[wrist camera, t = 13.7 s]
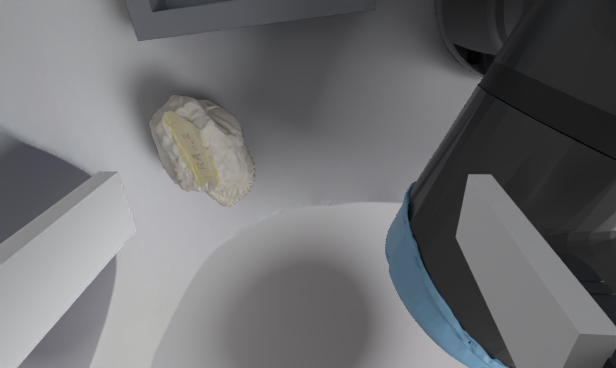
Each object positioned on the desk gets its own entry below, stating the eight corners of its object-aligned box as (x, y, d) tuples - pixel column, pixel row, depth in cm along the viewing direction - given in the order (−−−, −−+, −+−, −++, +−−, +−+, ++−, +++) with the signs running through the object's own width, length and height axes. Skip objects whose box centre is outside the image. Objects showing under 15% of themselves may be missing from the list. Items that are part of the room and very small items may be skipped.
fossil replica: (224, 200, 42) (285, 148, 39) (211, 244, 35) (283, 184, 32) (139, 130, 38) (200, 65, 35) (103, 164, 30) (176, 85, 27)
